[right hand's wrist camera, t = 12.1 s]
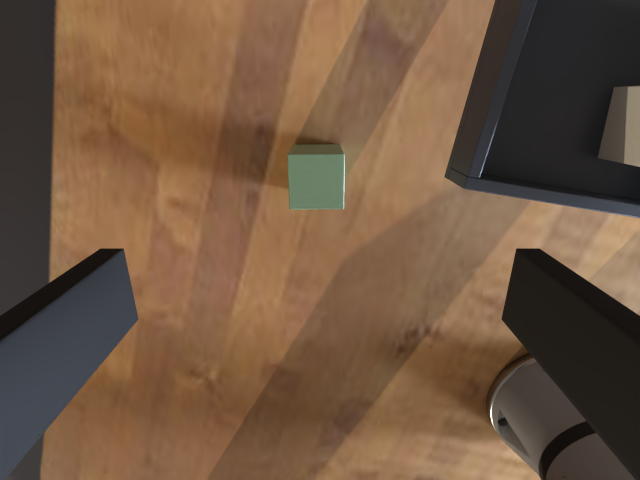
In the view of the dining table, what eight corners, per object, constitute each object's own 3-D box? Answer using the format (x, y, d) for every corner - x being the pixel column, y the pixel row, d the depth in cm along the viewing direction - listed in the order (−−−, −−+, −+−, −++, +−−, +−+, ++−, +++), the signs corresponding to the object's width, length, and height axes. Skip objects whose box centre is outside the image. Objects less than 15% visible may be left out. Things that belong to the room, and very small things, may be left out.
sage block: (340, 144, 35) (344, 153, 28) (339, 190, 36) (344, 209, 30) (293, 144, 35) (287, 154, 28) (295, 190, 36) (289, 209, 30)
